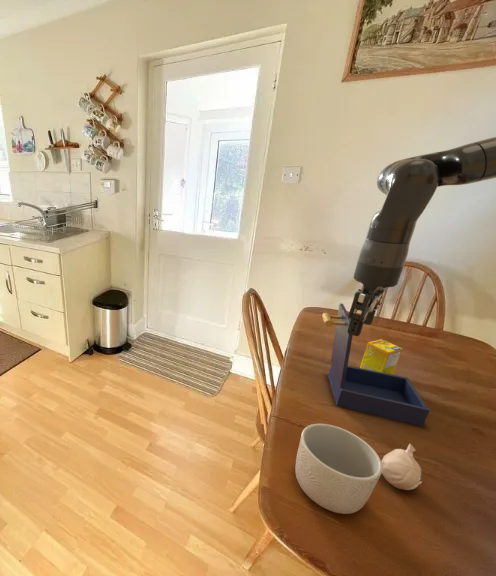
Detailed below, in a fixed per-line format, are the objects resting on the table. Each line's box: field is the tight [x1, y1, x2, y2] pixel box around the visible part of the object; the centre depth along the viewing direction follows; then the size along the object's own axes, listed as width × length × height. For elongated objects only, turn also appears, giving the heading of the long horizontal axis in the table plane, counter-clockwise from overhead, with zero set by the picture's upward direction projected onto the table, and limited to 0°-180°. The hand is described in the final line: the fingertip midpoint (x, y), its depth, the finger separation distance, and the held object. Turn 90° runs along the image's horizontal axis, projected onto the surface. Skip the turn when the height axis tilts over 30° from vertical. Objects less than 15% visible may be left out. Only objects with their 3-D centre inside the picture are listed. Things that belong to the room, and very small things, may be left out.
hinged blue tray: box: [327, 364, 431, 427], centre depth 84 cm, size 18×14×5 cm
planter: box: [294, 423, 383, 515], centre depth 60 cm, size 12×12×11 cm
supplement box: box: [359, 338, 403, 375], centre depth 93 cm, size 6×6×11 cm
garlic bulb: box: [381, 443, 424, 491], centre depth 62 cm, size 7×6×8 cm
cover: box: [321, 303, 354, 389], centre depth 85 cm, size 18×14×5 cm
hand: (359, 328), depth 72 cm, fingers open, 8 cm apart
